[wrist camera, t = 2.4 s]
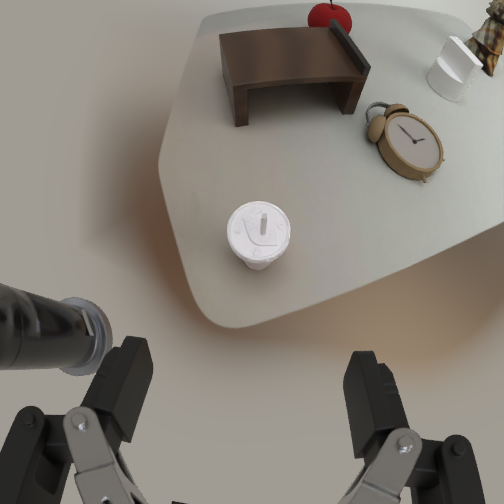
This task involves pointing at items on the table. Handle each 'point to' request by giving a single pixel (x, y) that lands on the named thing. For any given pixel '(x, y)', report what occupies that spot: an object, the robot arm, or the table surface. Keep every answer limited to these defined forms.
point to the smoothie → (258, 233)
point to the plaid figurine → (489, 37)
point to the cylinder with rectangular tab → (454, 70)
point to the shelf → (292, 63)
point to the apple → (329, 16)
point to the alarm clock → (405, 141)
